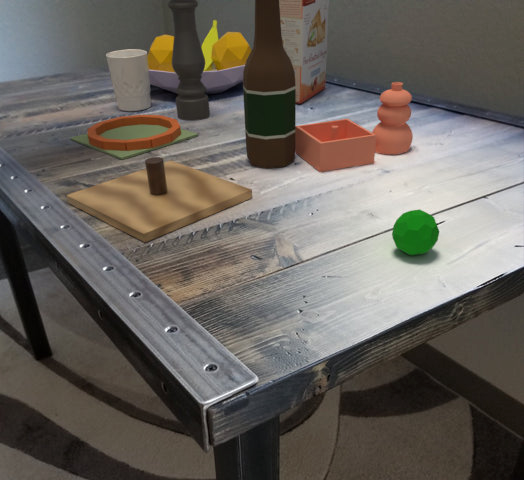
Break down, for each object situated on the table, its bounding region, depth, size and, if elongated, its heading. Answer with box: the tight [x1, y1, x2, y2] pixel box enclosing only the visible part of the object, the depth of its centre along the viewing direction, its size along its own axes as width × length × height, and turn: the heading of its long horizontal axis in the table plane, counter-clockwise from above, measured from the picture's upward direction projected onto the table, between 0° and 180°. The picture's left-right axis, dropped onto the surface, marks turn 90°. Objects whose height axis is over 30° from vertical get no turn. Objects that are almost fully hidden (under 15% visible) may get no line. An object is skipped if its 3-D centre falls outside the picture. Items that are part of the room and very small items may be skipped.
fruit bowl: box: [147, 19, 252, 95], centre depth 128 cm, size 28×27×11 cm
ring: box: [86, 114, 182, 151], centre depth 102 cm, size 16×16×1 cm
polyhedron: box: [391, 208, 440, 257], centre depth 64 cm, size 5×5×5 cm
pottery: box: [295, 81, 414, 173], centre depth 89 cm, size 18×10×10 cm, turn 110°
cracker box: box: [279, 0, 330, 105], centre depth 116 cm, size 14×6×21 cm, turn 154°
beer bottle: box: [242, 0, 297, 170], centre depth 84 cm, size 8×8×24 cm
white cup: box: [105, 48, 152, 112], centre depth 116 cm, size 8×8×10 cm
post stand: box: [65, 156, 253, 243], centre depth 78 cm, size 18×18×6 cm
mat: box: [70, 124, 199, 161], centre depth 102 cm, size 16×16×1 cm
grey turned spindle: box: [167, 0, 210, 121], centre depth 105 cm, size 6×6×25 cm
